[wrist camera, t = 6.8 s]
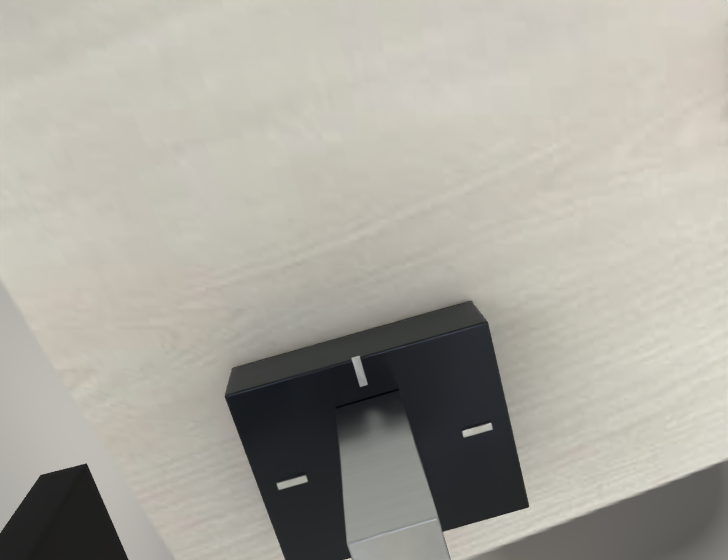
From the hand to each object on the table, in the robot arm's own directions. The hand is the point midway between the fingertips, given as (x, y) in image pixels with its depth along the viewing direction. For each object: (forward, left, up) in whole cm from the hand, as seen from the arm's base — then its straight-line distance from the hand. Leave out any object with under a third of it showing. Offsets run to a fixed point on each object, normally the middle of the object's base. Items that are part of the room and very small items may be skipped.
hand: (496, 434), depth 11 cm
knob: (-3, -10, -17) cm, 20 cm away
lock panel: (-3, -10, -20) cm, 23 cm away
